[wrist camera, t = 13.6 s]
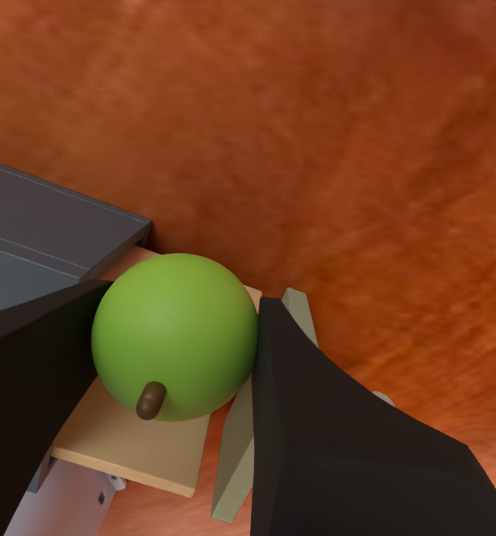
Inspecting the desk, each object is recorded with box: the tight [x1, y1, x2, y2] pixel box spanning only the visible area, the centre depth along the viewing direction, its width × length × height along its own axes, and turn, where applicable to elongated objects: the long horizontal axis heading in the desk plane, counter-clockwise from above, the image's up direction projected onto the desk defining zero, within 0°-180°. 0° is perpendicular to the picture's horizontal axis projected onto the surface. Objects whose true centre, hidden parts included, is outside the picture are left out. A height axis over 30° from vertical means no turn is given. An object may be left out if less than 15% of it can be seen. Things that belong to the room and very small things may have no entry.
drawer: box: [50, 245, 395, 524], centre depth 19 cm, size 19×11×7 cm, turn 69°
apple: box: [91, 253, 258, 422], centre depth 10 cm, size 5×5×5 cm
